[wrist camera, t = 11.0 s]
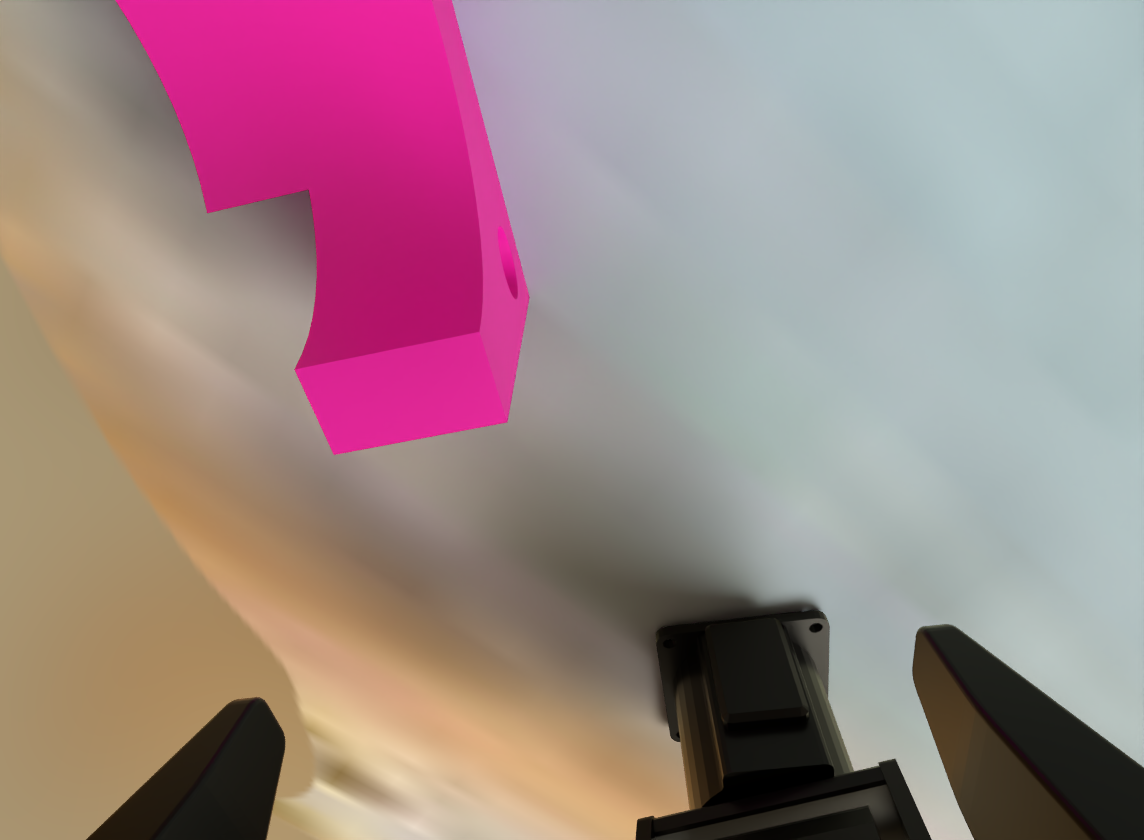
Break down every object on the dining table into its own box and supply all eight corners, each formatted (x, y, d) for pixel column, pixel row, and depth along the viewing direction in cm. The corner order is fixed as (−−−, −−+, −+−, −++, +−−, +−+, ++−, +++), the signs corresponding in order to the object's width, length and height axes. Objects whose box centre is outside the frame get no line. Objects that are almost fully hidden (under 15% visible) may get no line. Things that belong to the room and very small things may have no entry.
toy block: (47, -338, 14) (-410, -644, 8) (338, -438, 13) (110, -870, 7) (332, 336, 21) (223, 475, 15) (529, 295, 21) (506, 422, 14)
